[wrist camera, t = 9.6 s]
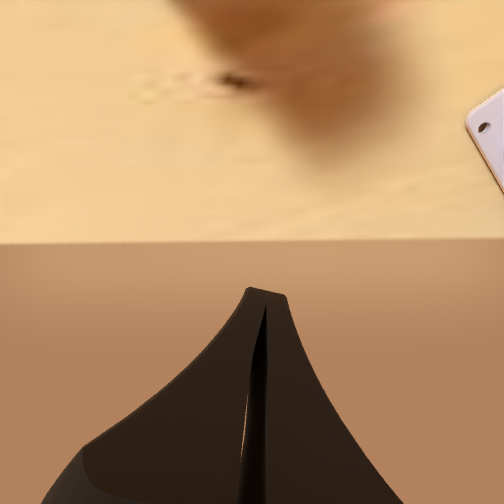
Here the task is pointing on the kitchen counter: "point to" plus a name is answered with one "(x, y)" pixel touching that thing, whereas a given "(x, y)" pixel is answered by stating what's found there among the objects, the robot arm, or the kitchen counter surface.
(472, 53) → the kitchen counter surface
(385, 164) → the kitchen counter surface
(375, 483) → the robot arm
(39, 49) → the kitchen counter surface
